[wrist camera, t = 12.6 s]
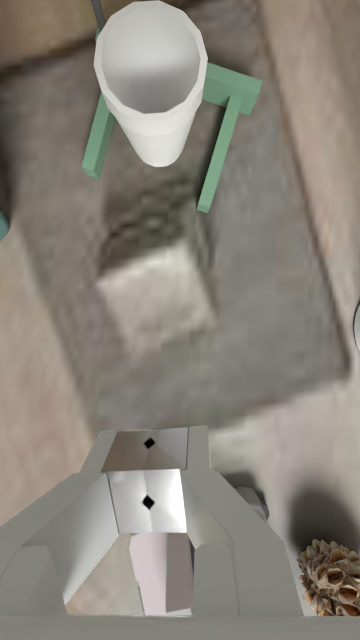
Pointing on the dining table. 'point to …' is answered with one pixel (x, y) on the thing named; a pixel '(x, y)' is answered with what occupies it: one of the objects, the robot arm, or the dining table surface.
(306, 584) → the pine cone
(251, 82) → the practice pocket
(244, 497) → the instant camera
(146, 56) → the foam cup
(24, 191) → the dining table surface
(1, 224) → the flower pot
